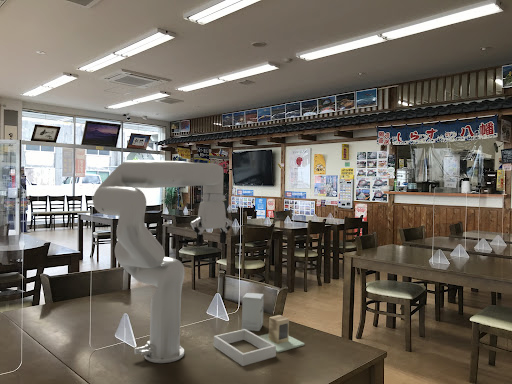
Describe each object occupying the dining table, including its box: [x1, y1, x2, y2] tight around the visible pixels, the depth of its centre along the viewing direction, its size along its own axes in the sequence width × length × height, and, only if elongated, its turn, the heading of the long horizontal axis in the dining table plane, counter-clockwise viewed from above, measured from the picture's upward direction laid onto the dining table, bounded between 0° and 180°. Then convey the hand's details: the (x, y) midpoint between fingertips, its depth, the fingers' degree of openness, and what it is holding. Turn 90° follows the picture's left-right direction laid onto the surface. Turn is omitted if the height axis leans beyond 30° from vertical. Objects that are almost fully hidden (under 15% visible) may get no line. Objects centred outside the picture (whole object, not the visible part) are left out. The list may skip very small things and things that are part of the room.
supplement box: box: [241, 292, 265, 332], centre depth 156 cm, size 7×7×13 cm
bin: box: [213, 329, 277, 367], centre depth 133 cm, size 13×18×4 cm
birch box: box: [268, 314, 290, 344], centre depth 142 cm, size 5×5×8 cm
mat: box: [258, 333, 305, 353], centre depth 142 cm, size 12×14×1 cm
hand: (211, 244), depth 149 cm, fingers open, 9 cm apart
